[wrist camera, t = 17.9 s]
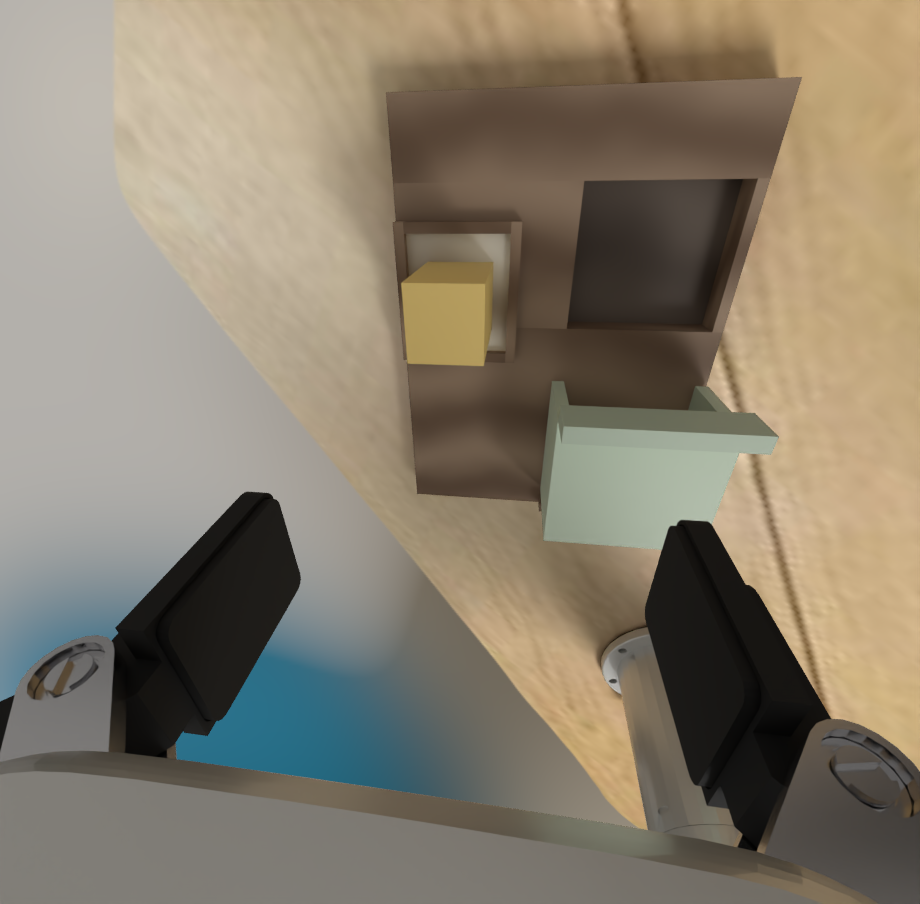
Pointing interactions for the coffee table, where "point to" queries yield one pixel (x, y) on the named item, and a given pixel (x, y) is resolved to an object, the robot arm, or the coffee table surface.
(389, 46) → the coffee table surface
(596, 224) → the puzzle board
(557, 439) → the cover
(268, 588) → the robot arm
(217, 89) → the coffee table surface
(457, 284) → the block
